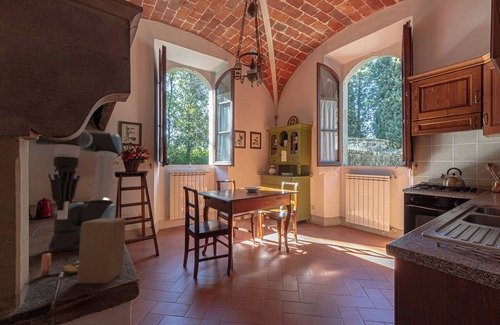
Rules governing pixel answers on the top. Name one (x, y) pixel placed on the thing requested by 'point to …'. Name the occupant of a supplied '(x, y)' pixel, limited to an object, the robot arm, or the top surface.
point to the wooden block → (101, 250)
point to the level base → (66, 274)
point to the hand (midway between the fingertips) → (62, 218)
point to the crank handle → (46, 268)
